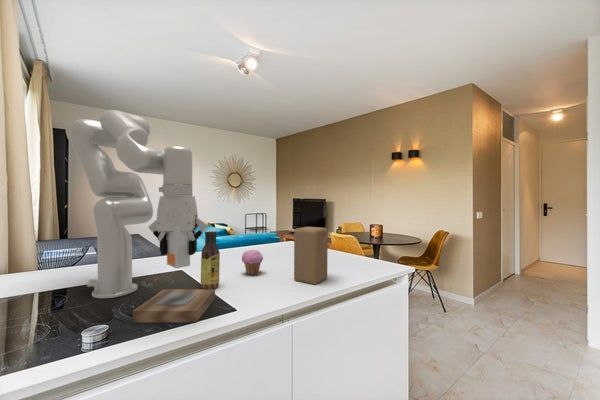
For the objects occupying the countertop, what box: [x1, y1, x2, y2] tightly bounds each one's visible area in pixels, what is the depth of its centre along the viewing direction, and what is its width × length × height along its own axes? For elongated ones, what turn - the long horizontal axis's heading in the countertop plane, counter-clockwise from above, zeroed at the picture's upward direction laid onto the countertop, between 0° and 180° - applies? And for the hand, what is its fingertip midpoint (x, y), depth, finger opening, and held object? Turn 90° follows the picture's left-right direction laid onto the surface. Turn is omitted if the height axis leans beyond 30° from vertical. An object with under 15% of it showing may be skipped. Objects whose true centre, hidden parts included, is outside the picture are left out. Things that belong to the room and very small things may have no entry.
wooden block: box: [293, 226, 329, 285], centre depth 106 cm, size 10×10×20 cm
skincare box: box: [166, 224, 191, 269], centre depth 77 cm, size 6×4×12 cm
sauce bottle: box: [200, 230, 221, 289], centre depth 96 cm, size 7×6×20 cm
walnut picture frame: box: [132, 288, 216, 324], centre depth 77 cm, size 16×16×3 cm
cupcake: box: [241, 249, 264, 276], centre depth 114 cm, size 9×9×10 cm
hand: (178, 253), depth 77 cm, fingers closed on skincare box, 7 cm apart
